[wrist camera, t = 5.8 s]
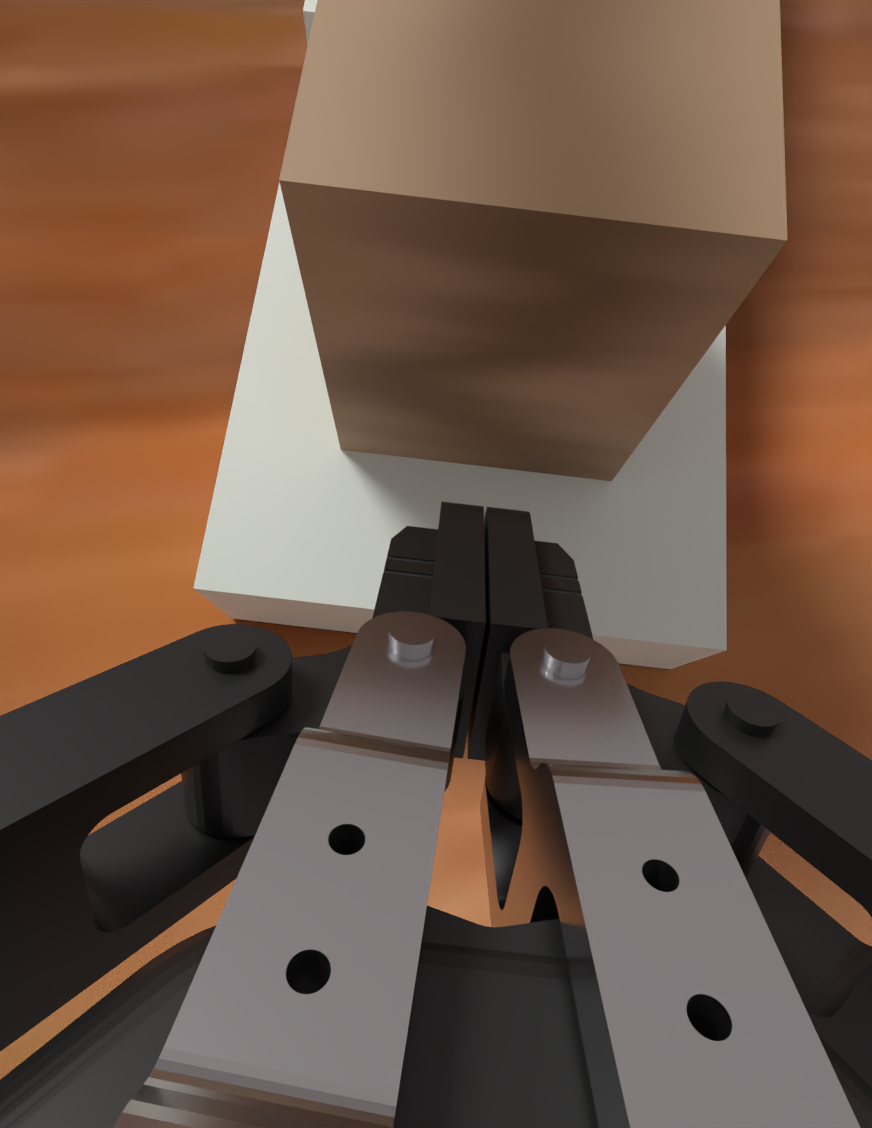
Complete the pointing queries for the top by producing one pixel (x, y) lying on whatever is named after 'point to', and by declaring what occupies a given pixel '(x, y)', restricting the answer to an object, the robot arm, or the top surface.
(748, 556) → the top surface
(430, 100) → the block
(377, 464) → the ledge
